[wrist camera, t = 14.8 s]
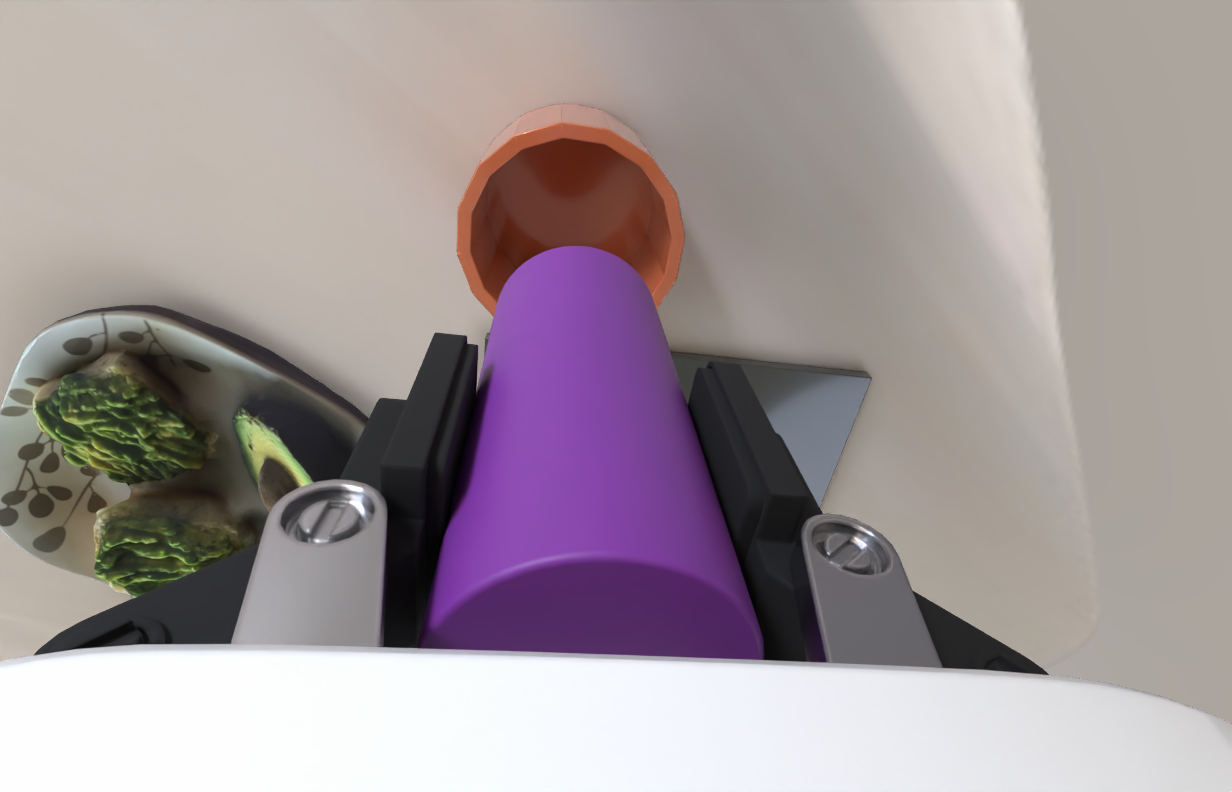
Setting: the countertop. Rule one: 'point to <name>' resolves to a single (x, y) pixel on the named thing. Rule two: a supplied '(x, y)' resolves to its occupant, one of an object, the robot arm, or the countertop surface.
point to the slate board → (796, 408)
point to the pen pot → (567, 200)
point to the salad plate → (157, 444)
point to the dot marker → (585, 485)
